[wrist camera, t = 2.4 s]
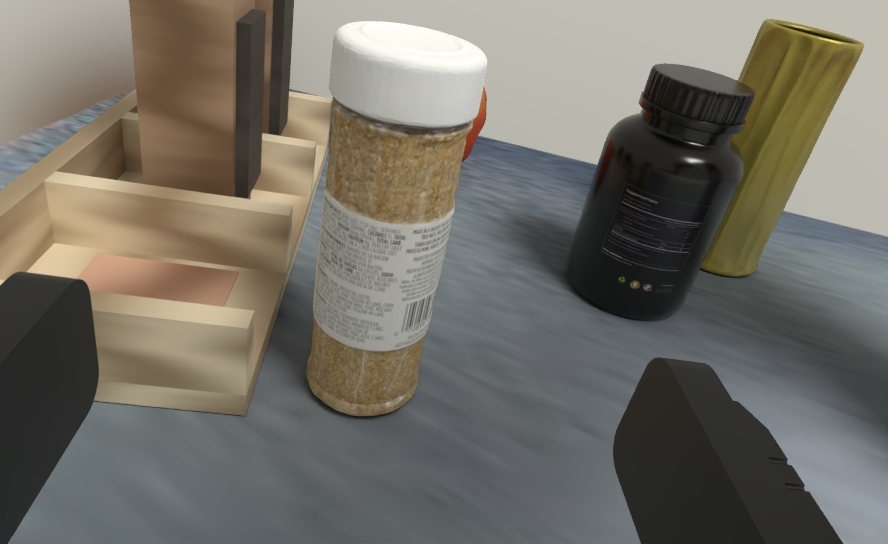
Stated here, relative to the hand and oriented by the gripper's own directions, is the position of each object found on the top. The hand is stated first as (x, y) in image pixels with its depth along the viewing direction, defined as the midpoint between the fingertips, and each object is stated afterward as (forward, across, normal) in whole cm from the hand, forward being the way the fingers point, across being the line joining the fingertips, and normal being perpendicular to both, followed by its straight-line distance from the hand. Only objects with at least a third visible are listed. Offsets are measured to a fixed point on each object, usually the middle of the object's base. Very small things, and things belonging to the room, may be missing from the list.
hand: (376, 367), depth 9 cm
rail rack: (+22, +9, +11) cm, 26 cm away
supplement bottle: (+22, -14, +11) cm, 29 cm away
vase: (+28, -22, +11) cm, 37 cm away
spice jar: (+12, 0, +11) cm, 17 cm away
